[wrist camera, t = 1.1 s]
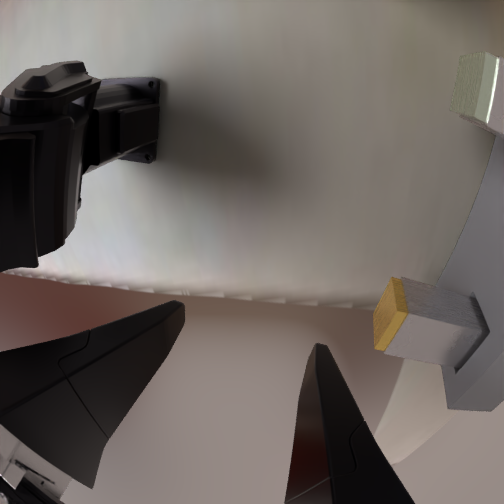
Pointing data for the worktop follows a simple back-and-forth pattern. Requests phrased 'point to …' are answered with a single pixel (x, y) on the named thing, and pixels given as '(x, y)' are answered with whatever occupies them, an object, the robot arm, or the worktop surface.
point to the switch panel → (481, 292)
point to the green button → (480, 91)
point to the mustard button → (428, 323)
